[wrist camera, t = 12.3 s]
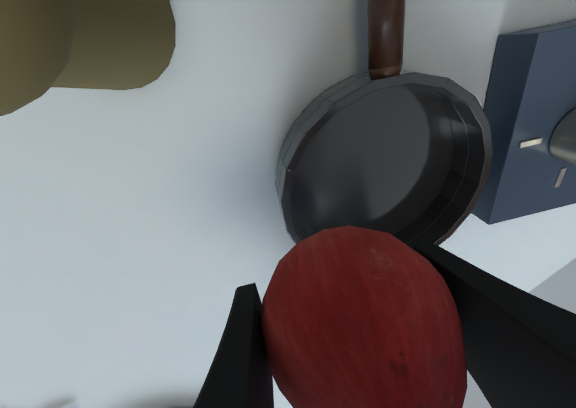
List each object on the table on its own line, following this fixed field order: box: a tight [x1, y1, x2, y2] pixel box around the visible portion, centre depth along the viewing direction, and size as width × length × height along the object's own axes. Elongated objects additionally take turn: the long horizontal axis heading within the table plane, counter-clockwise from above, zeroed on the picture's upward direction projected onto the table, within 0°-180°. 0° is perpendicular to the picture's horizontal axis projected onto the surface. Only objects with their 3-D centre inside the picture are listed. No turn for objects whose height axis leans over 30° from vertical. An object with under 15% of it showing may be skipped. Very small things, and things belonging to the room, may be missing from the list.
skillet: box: [275, 71, 493, 248], centre depth 17 cm, size 13×13×3 cm
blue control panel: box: [471, 20, 576, 225], centre depth 18 cm, size 12×9×3 cm
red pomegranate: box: [261, 225, 467, 408], centre depth 8 cm, size 6×6×8 cm
